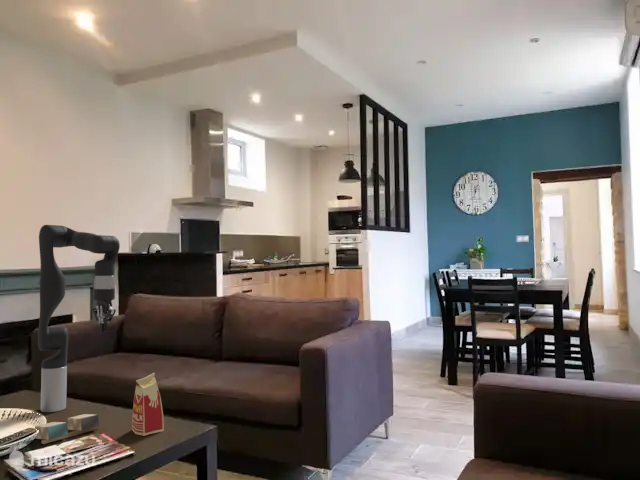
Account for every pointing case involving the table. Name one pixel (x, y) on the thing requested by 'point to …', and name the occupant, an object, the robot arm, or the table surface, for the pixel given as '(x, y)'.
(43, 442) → the strip
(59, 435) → the teal-foot block
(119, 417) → the table surface
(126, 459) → the table surface
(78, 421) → the pale wooden block
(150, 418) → the milk carton
